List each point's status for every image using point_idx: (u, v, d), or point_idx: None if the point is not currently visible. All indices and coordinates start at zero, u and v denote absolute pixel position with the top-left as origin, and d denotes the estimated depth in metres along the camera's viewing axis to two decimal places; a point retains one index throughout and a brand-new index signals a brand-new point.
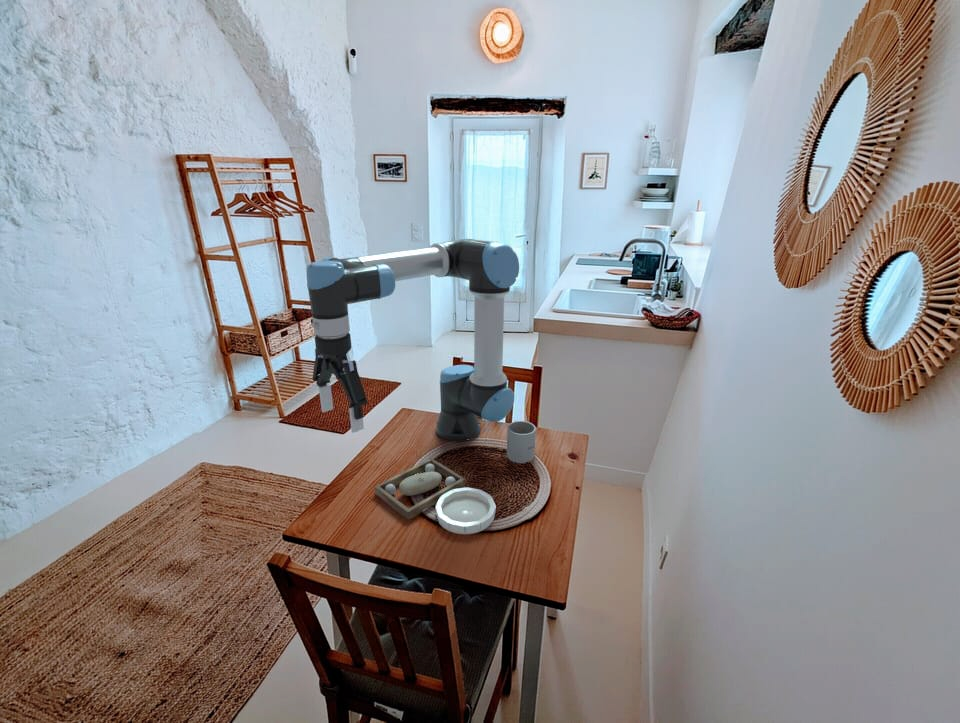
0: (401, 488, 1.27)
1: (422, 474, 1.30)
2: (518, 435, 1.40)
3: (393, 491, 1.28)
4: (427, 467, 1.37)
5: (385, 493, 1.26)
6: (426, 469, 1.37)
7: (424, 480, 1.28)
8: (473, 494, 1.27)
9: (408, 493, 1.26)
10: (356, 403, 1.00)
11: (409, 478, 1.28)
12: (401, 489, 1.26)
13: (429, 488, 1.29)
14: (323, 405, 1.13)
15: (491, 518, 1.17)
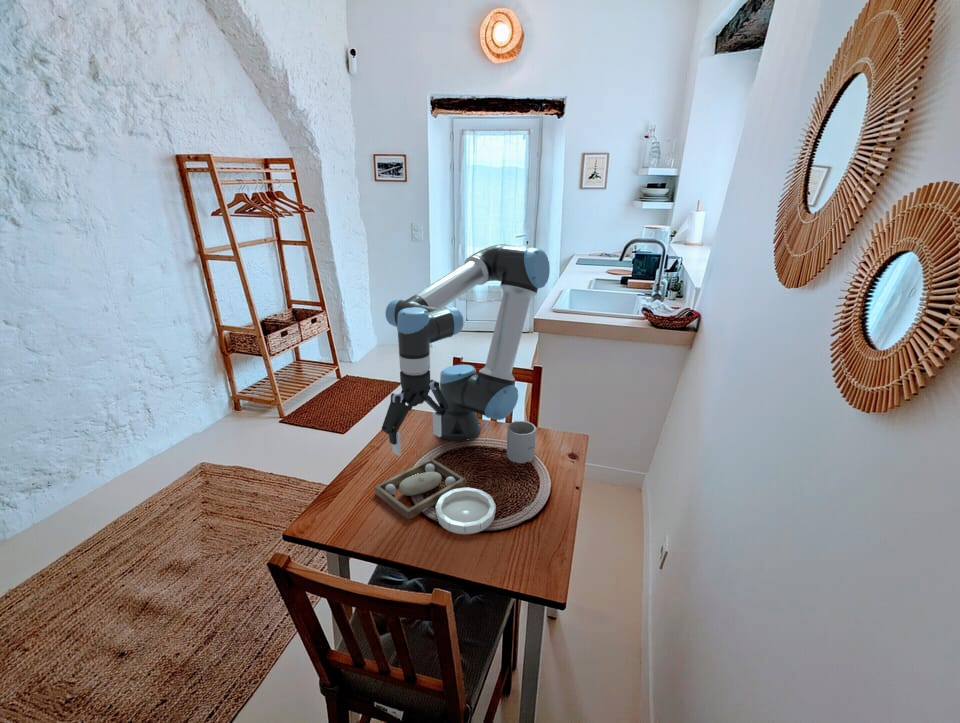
0: (401, 488, 1.27)
1: (422, 474, 1.30)
2: (518, 435, 1.40)
3: (393, 491, 1.28)
4: (427, 467, 1.37)
5: (385, 493, 1.26)
6: (426, 469, 1.37)
7: (424, 480, 1.28)
8: (473, 494, 1.27)
9: (408, 493, 1.26)
10: None
11: (409, 478, 1.28)
12: (401, 489, 1.27)
13: (429, 488, 1.29)
14: (433, 428, 1.30)
15: (491, 518, 1.17)
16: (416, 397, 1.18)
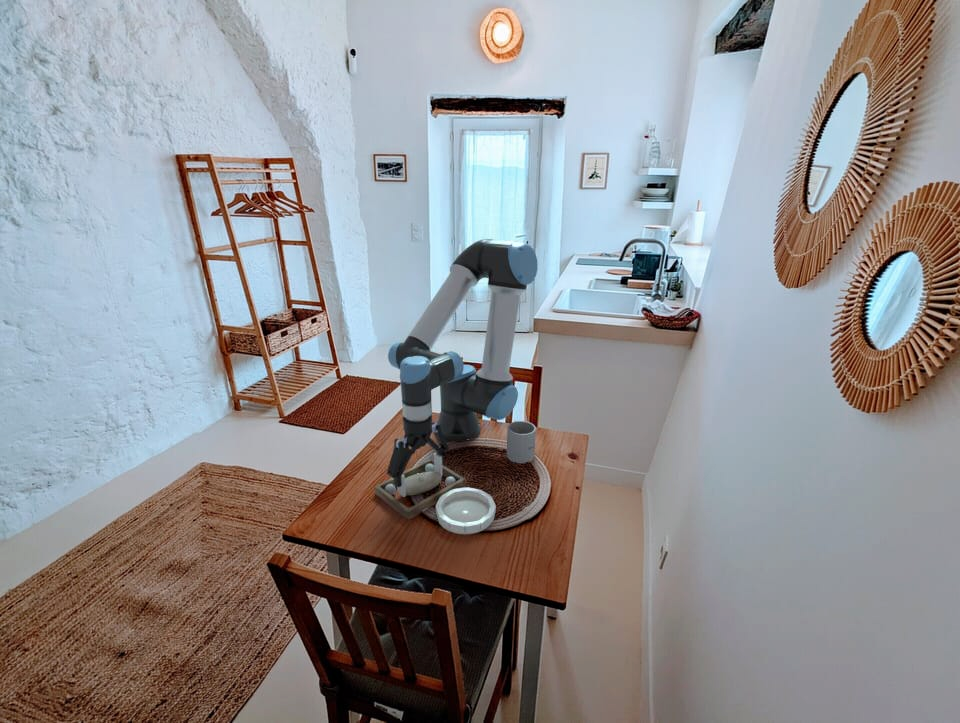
0: None
1: (422, 474, 1.30)
2: (518, 435, 1.40)
3: (393, 491, 1.28)
4: (427, 467, 1.37)
5: (385, 493, 1.26)
6: (426, 469, 1.37)
7: (424, 480, 1.28)
8: (473, 494, 1.27)
9: (408, 493, 1.26)
10: None
11: (409, 478, 1.28)
12: None
13: (429, 488, 1.29)
14: (434, 468, 1.34)
15: (491, 518, 1.17)
16: (419, 441, 1.23)
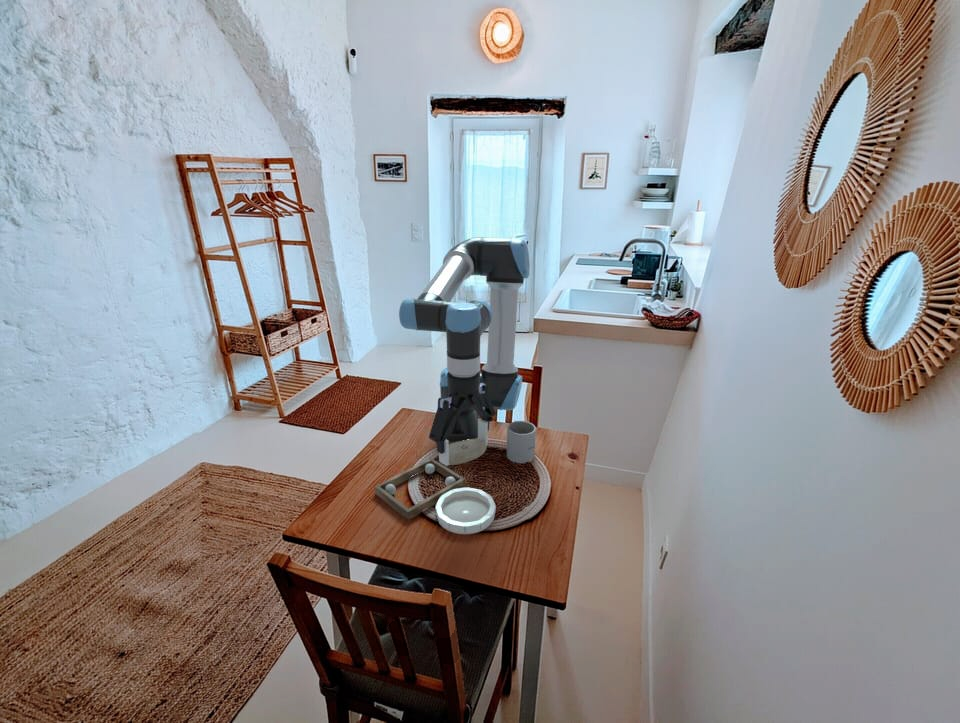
0: None
1: (466, 441, 1.15)
2: (518, 435, 1.40)
3: (393, 491, 1.28)
4: (427, 467, 1.37)
5: (385, 493, 1.26)
6: (426, 469, 1.37)
7: (468, 447, 1.13)
8: (473, 494, 1.27)
9: (451, 461, 1.11)
10: None
11: (451, 445, 1.13)
12: None
13: (474, 457, 1.13)
14: (478, 435, 1.19)
15: (491, 518, 1.17)
16: (465, 401, 1.07)
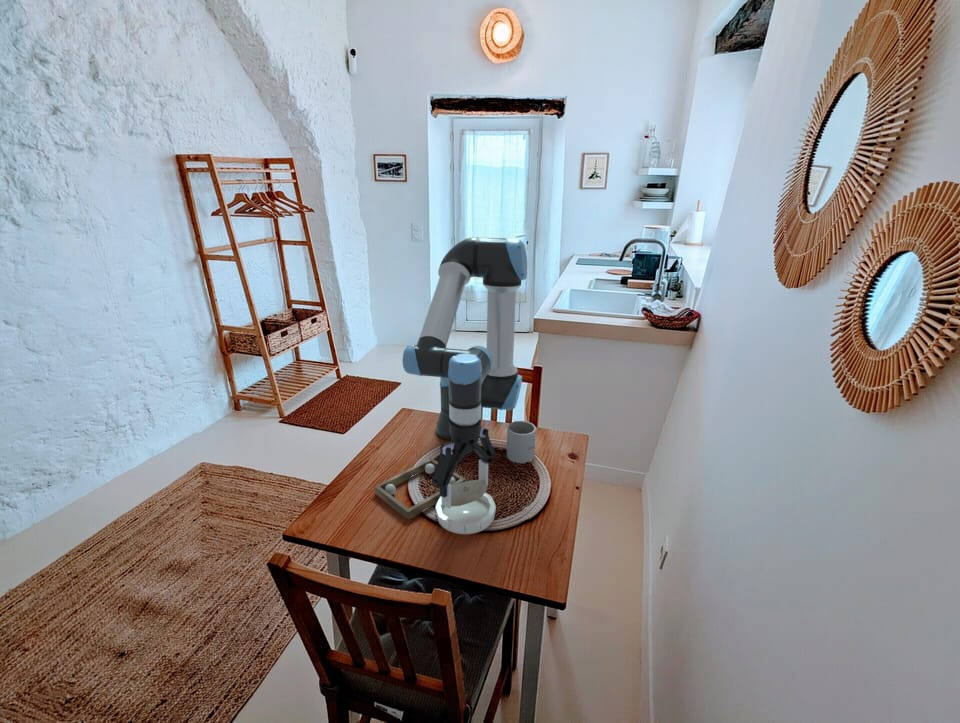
0: None
1: (467, 483, 1.19)
2: (518, 435, 1.40)
3: (393, 491, 1.28)
4: (427, 467, 1.37)
5: (385, 493, 1.26)
6: (426, 469, 1.37)
7: (470, 489, 1.17)
8: None
9: (453, 504, 1.15)
10: None
11: (453, 487, 1.18)
12: None
13: (475, 498, 1.18)
14: (479, 476, 1.23)
15: (491, 518, 1.17)
16: (466, 447, 1.12)
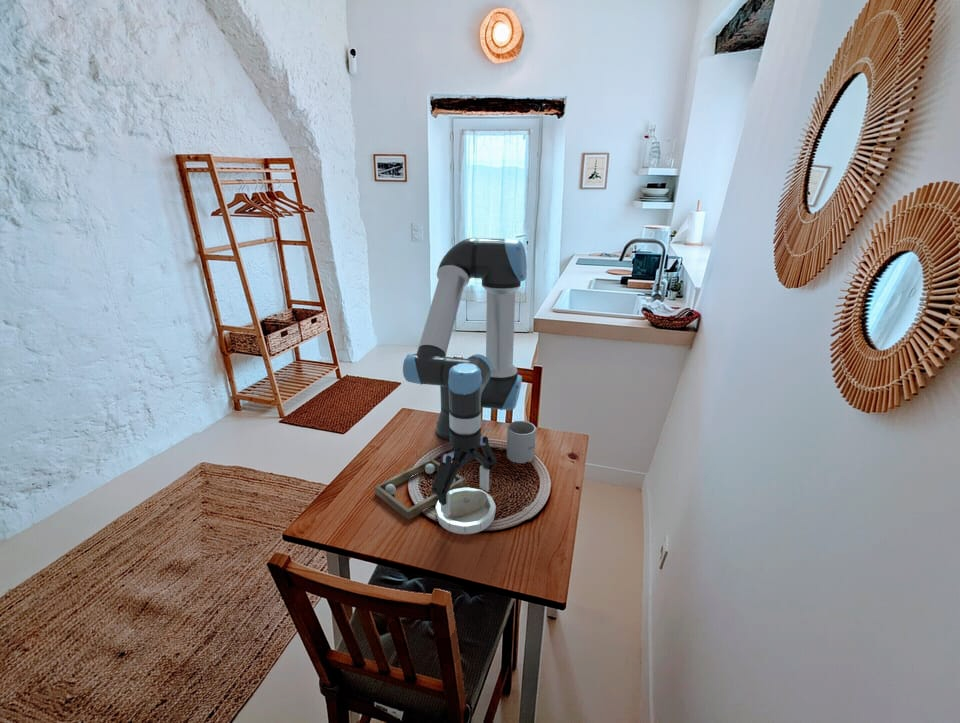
0: None
1: (467, 494, 1.21)
2: (518, 435, 1.40)
3: (393, 491, 1.28)
4: (427, 467, 1.37)
5: (385, 493, 1.26)
6: (426, 469, 1.37)
7: (470, 501, 1.19)
8: None
9: (453, 515, 1.17)
10: None
11: (454, 498, 1.19)
12: None
13: (475, 509, 1.19)
14: (480, 481, 1.25)
15: (491, 518, 1.17)
16: (466, 456, 1.13)
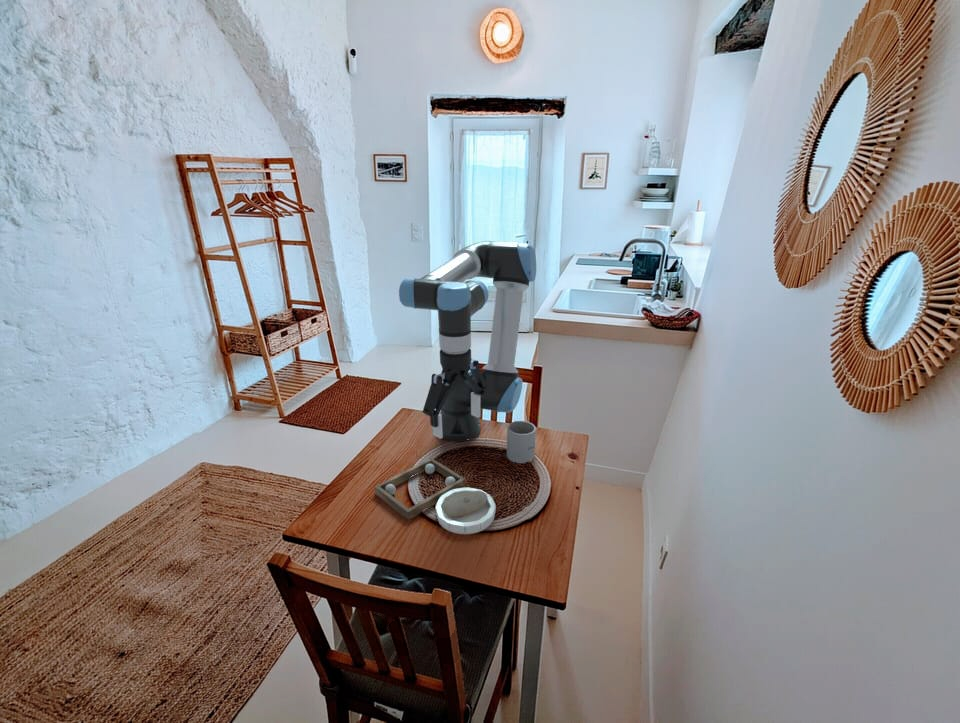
0: (446, 509, 1.17)
1: (467, 494, 1.21)
2: (518, 435, 1.40)
3: (393, 491, 1.28)
4: (427, 467, 1.37)
5: (385, 493, 1.26)
6: (426, 469, 1.37)
7: (470, 501, 1.19)
8: None
9: (453, 515, 1.17)
10: None
11: (454, 498, 1.19)
12: (446, 510, 1.17)
13: (475, 509, 1.19)
14: (471, 408, 1.25)
15: (491, 518, 1.17)
16: (457, 377, 1.12)
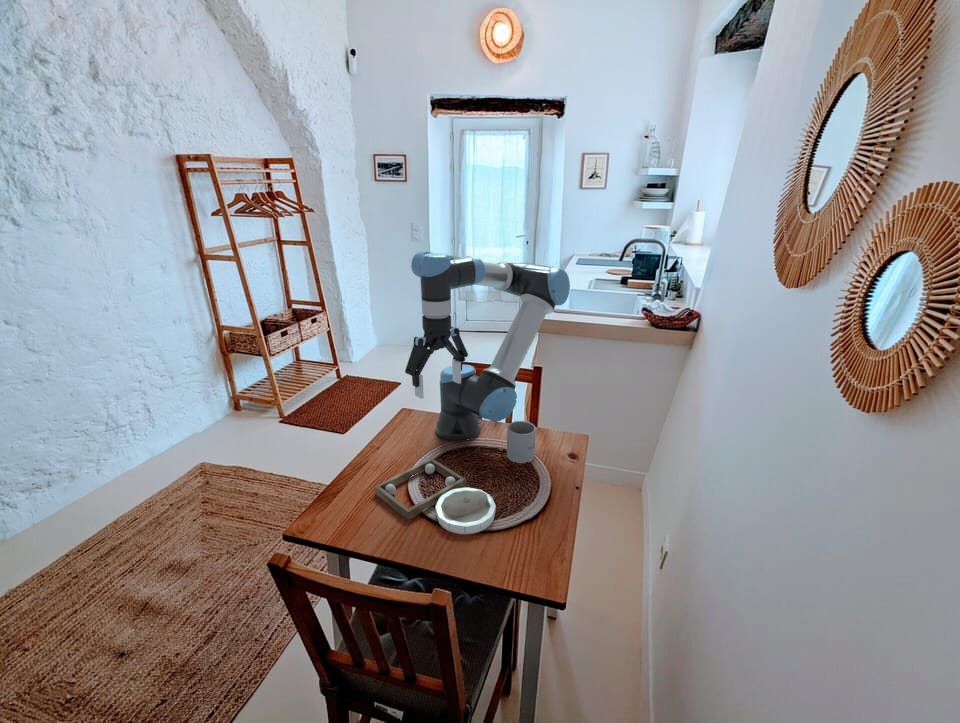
0: (446, 509, 1.17)
1: (467, 494, 1.21)
2: (518, 435, 1.40)
3: (393, 491, 1.28)
4: (427, 467, 1.37)
5: (385, 493, 1.26)
6: (426, 469, 1.37)
7: (470, 501, 1.19)
8: None
9: (453, 515, 1.17)
10: None
11: (454, 498, 1.19)
12: (446, 510, 1.17)
13: (475, 509, 1.19)
14: (453, 375, 1.34)
15: (491, 518, 1.17)
16: (438, 341, 1.22)
